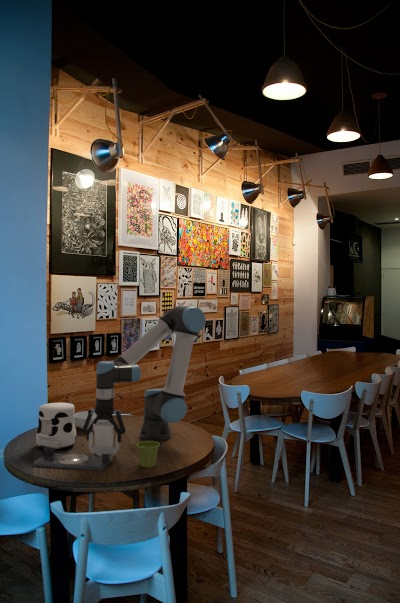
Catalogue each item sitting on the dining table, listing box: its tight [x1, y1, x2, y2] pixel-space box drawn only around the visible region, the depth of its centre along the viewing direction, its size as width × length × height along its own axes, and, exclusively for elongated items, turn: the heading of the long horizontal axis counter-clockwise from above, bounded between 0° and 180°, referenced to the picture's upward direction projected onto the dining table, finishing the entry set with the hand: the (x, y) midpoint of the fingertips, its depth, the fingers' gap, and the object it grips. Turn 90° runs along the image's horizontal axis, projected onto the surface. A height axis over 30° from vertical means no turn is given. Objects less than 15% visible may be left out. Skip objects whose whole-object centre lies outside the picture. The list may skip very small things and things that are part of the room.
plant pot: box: [136, 440, 161, 469], centre depth 197 cm, size 9×9×9 cm
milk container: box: [35, 402, 77, 450], centre depth 219 cm, size 17×17×18 cm
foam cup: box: [92, 420, 116, 456], centre depth 210 cm, size 10×9×13 cm
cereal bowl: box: [74, 410, 107, 431], centre depth 251 cm, size 17×17×7 cm
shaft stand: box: [32, 438, 118, 472], centre depth 198 cm, size 34×13×7 cm, turn 83°
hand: (103, 448), depth 210 cm, fingers open, 11 cm apart
